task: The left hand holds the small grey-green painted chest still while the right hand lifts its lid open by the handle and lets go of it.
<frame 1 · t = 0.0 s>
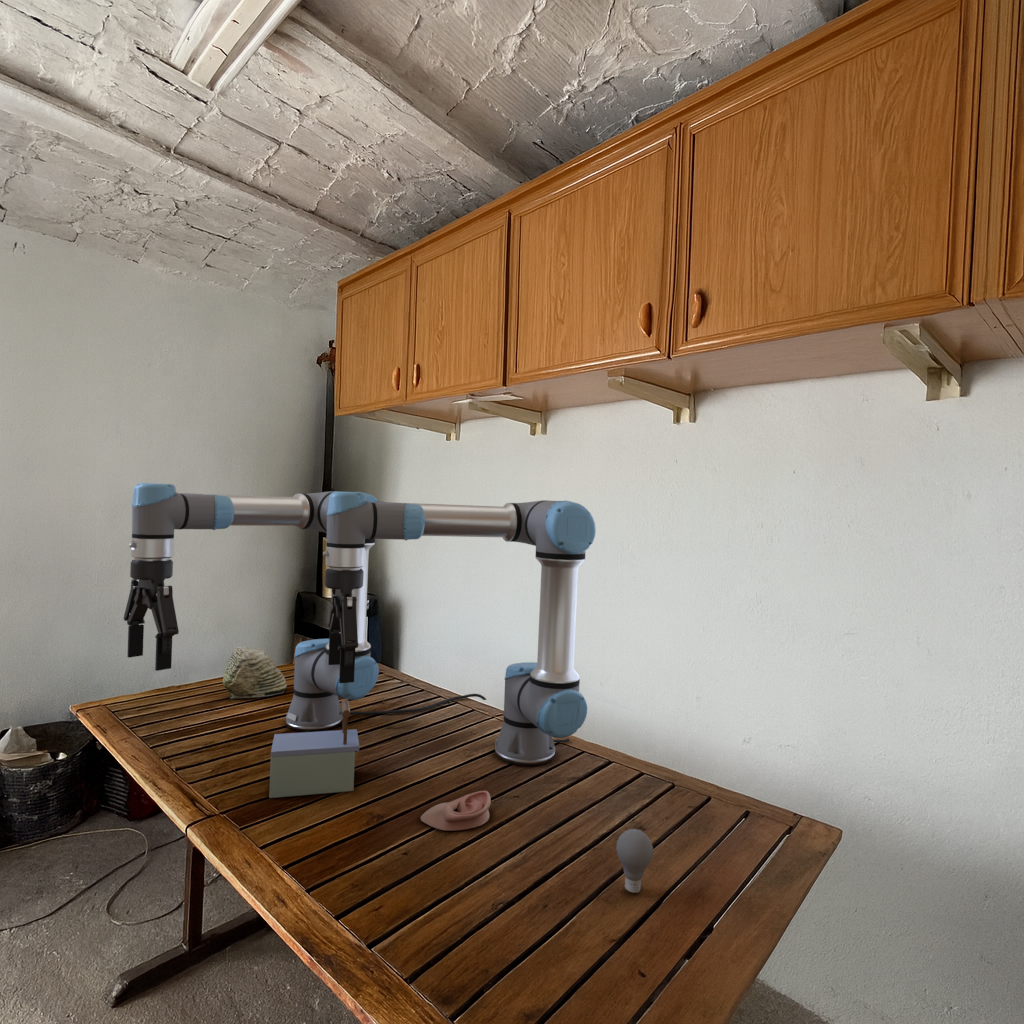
left hand: (148, 662, 129), 28 cm above the table, tool pointing down, fingers open, 13 cm apart
right hand: (340, 673, 128), 28 cm above the table, tool pointing down, fingers open, 13 cm apart
lid: (316, 725, 139), point 13 cm above the table, hinge at 0.0°
fossil: (254, 694, 198), on the table
chest: (312, 784, 139), on the table
anatomical model: (455, 818, 127), on the table
light bulb: (632, 891, 106), on the table
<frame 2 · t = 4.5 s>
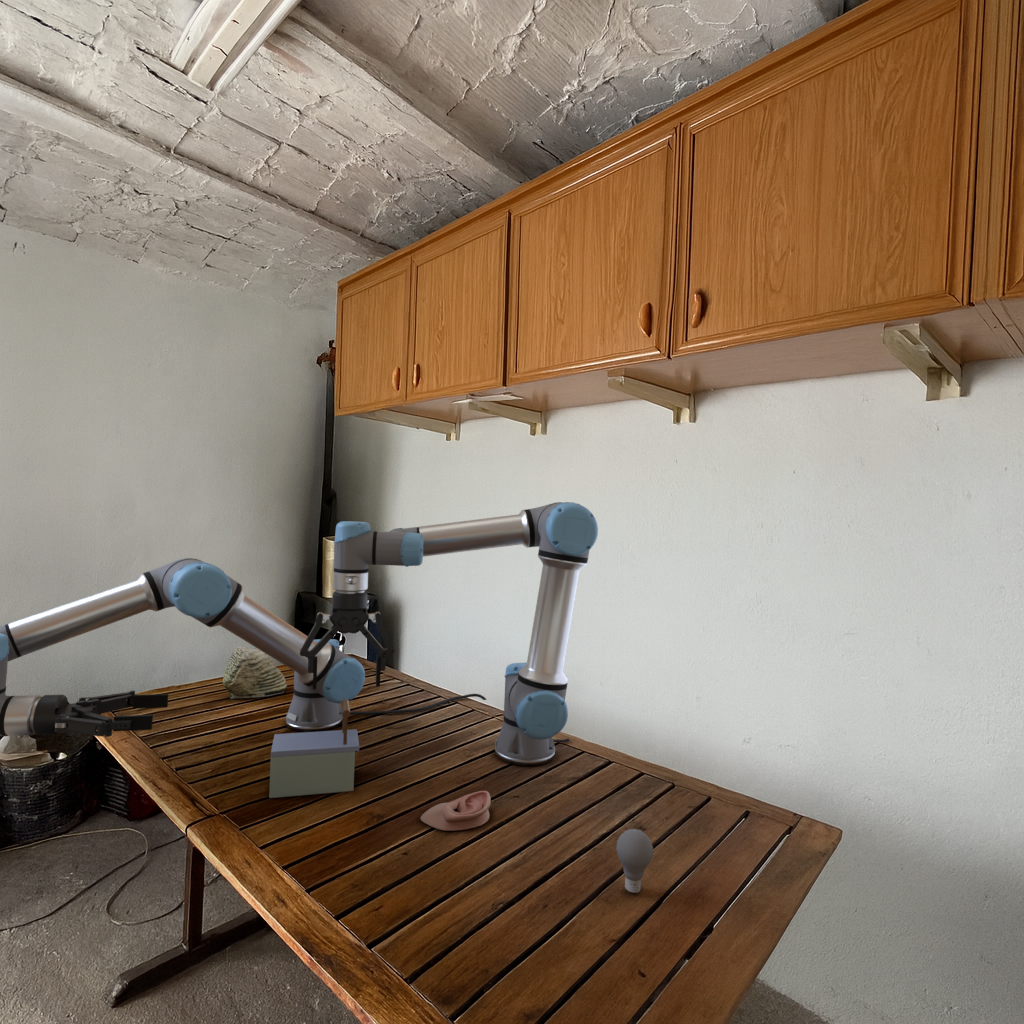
left hand: (160, 710, 130), 18 cm above the table, tool horizontal, fingers open, 13 cm apart
right hand: (346, 686, 141), 21 cm above the table, tool pointing down, fingers open, 13 cm apart
nothing on the table moved.
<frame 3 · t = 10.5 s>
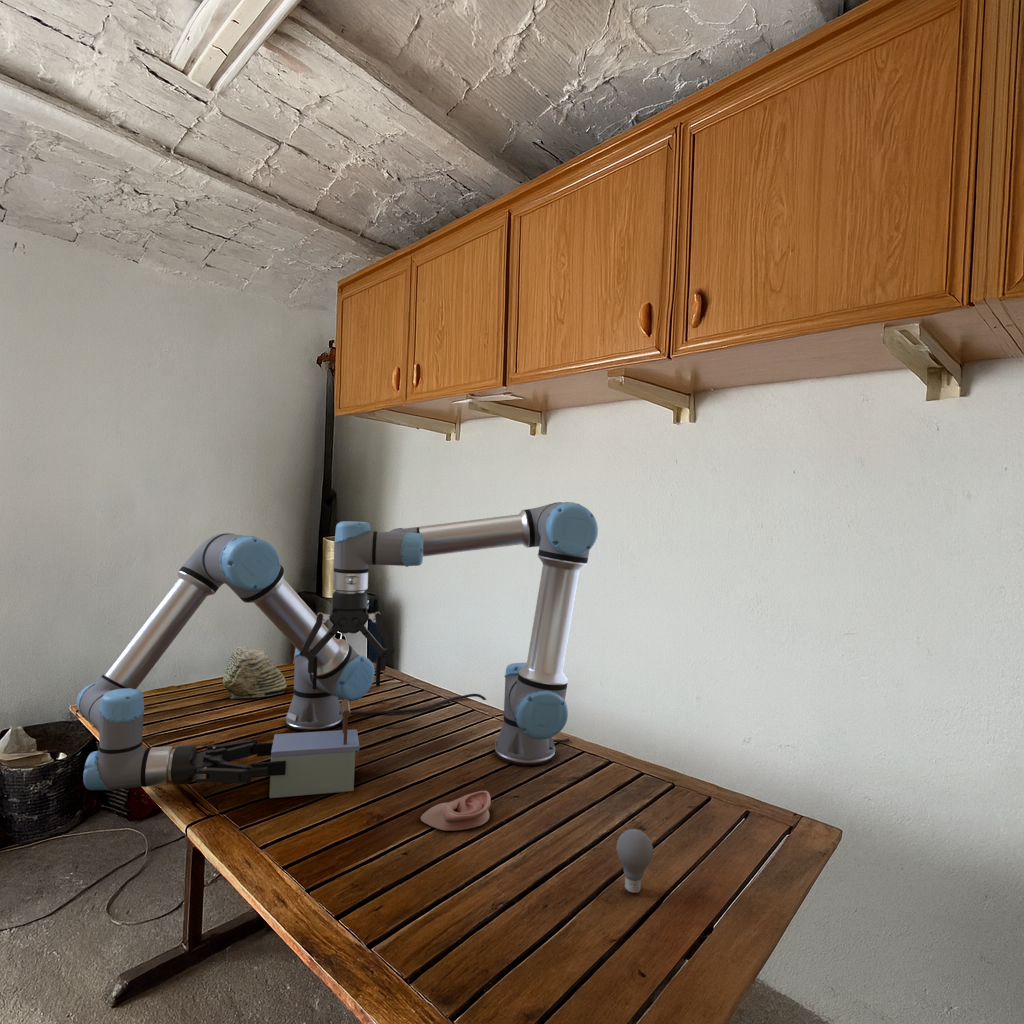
left hand: (286, 757, 138), 6 cm above the table, tool horizontal, fingers closed on chest, 10 cm apart
right hand: (346, 686, 141), 21 cm above the table, tool pointing down, fingers open, 13 cm apart
chest: (312, 784, 139), on the table, touching left hand
everything else where it was.
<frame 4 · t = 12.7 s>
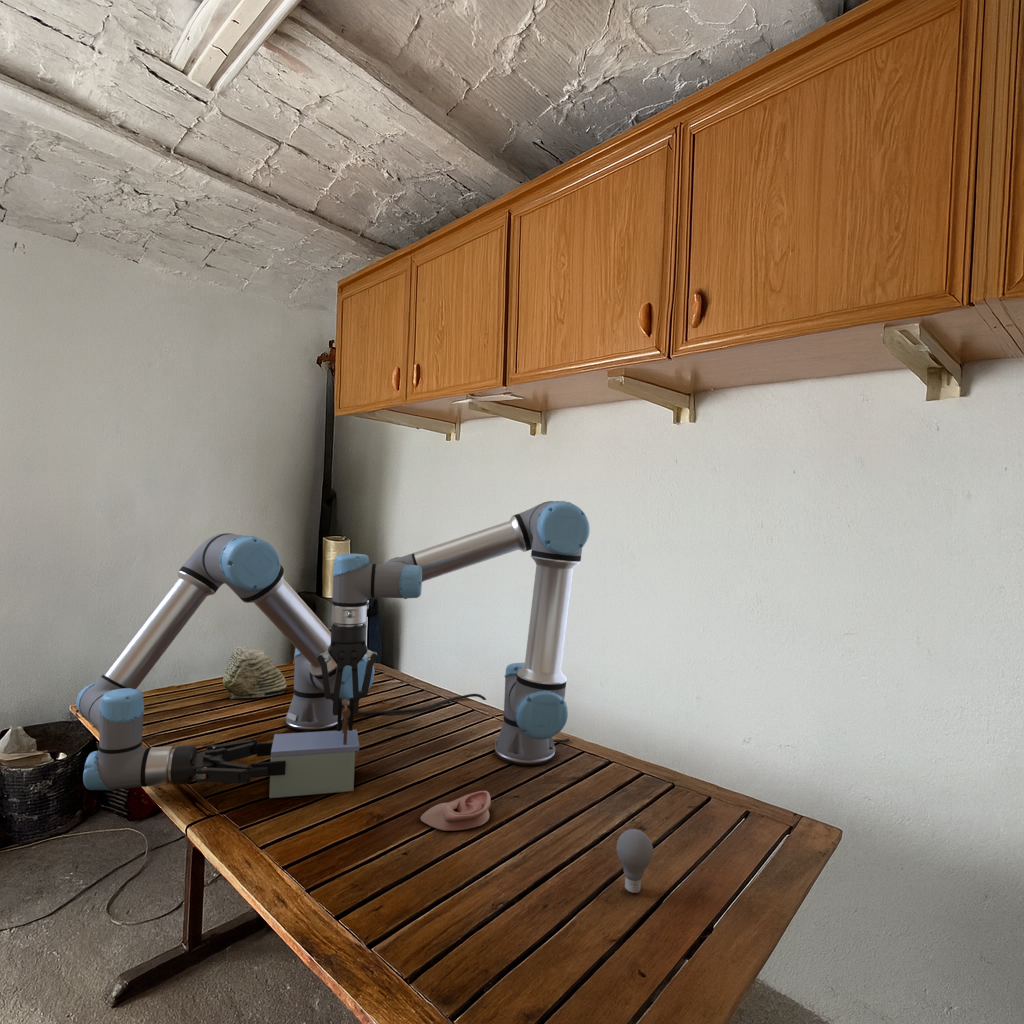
left hand: (286, 757, 138), 6 cm above the table, tool horizontal, fingers closed on chest, 10 cm apart
right hand: (344, 728, 141), 12 cm above the table, tool pointing down, fingers closed on lid, 2 cm apart
lid: (316, 725, 139), point 13 cm above the table, hinge at -0.1°, touching right hand
chest: (312, 784, 139), on the table, touching left hand
everything else where it was.
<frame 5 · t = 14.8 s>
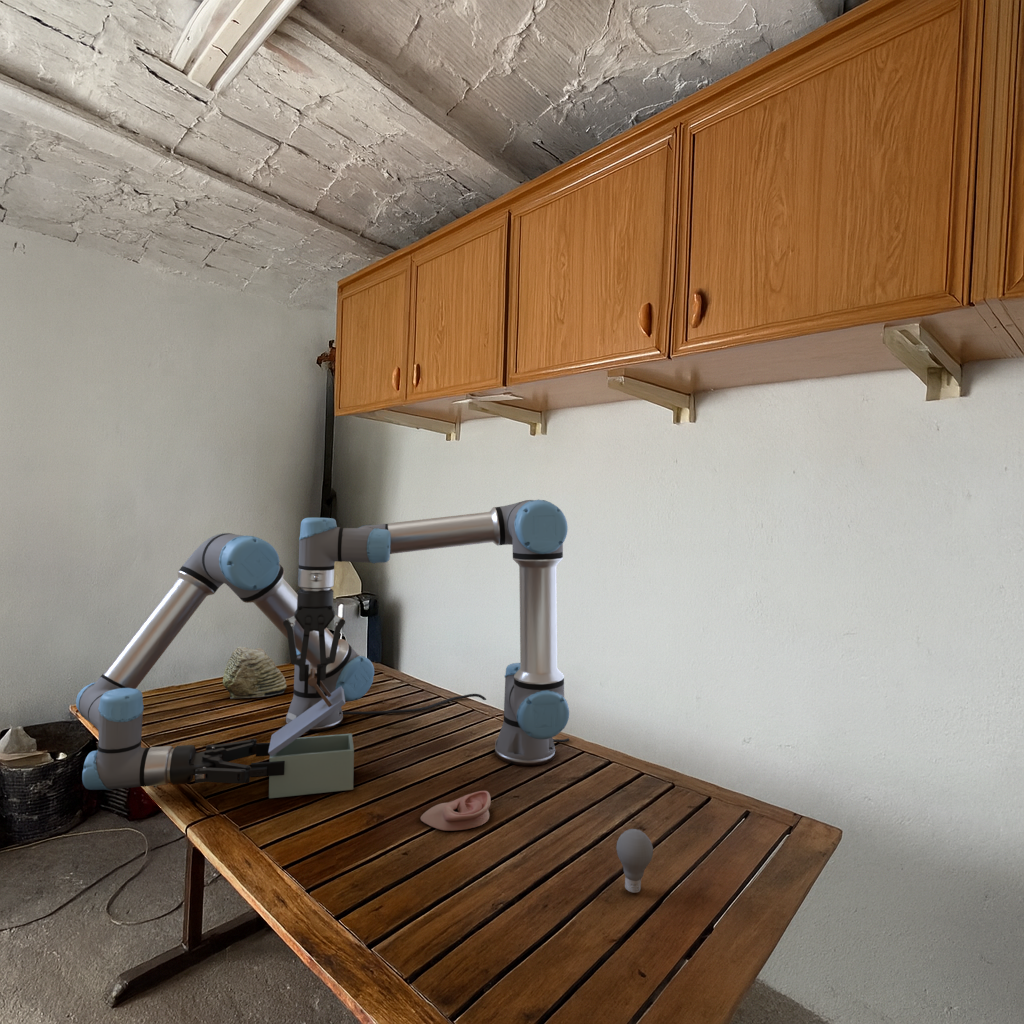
left hand: (285, 757, 138), 6 cm above the table, tool horizontal, fingers closed on chest, 10 cm apart
right hand: (311, 695, 139), 20 cm above the table, tool pointing down, fingers closed on lid, 2 cm apart
lid: (297, 706, 138), point 17 cm above the table, hinge at 34.4°, touching right hand
chest: (312, 783, 139), on the table, touching left hand
everything else where it was.
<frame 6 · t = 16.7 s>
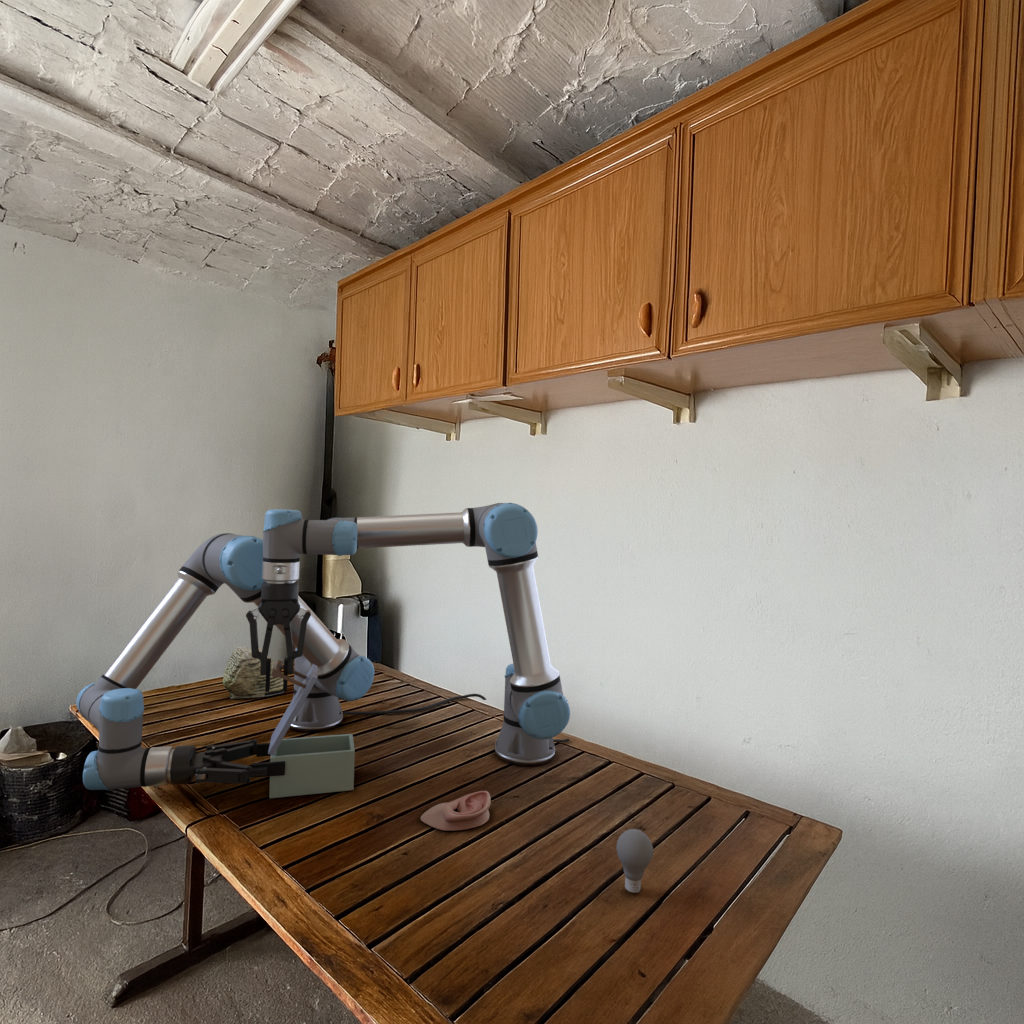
left hand: (286, 757, 138), 6 cm above the table, tool horizontal, fingers closed on chest, 10 cm apart
right hand: (276, 689, 137), 21 cm above the table, tool pointing down, fingers open, 3 cm apart
lid: (277, 700, 137), point 19 cm above the table, hinge at 61.7°
chest: (312, 783, 139), on the table, touching left hand
everything else where it was.
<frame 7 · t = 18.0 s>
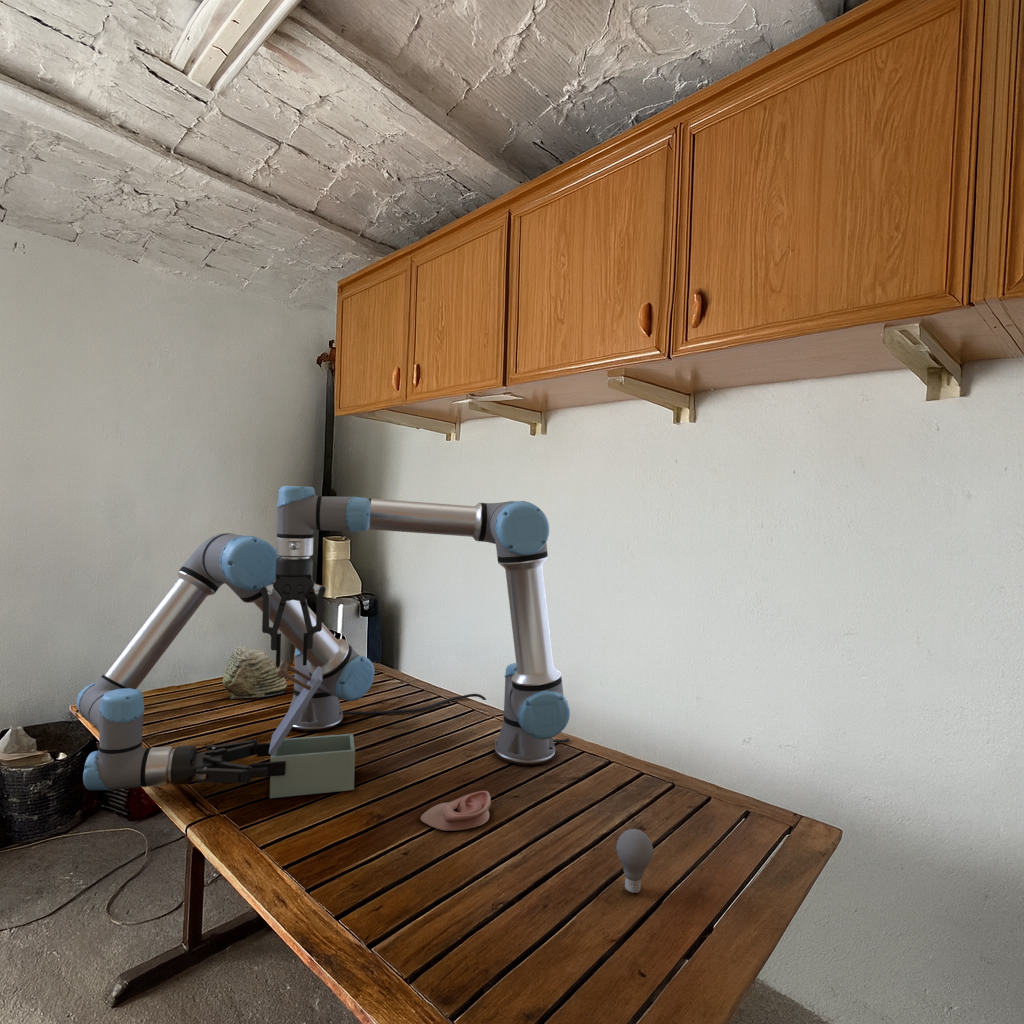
left hand: (286, 757, 138), 6 cm above the table, tool horizontal, fingers closed on chest, 10 cm apart
right hand: (291, 664, 137), 27 cm above the table, tool pointing down, fingers open, 5 cm apart
lid: (281, 700, 137), point 19 cm above the table, hinge at 57.9°
chest: (312, 783, 139), on the table, touching left hand
everything else where it was.
when the left hand's fingers open (6 cm above the table, at t = 20.9 s): chest stays where it is, on the table.
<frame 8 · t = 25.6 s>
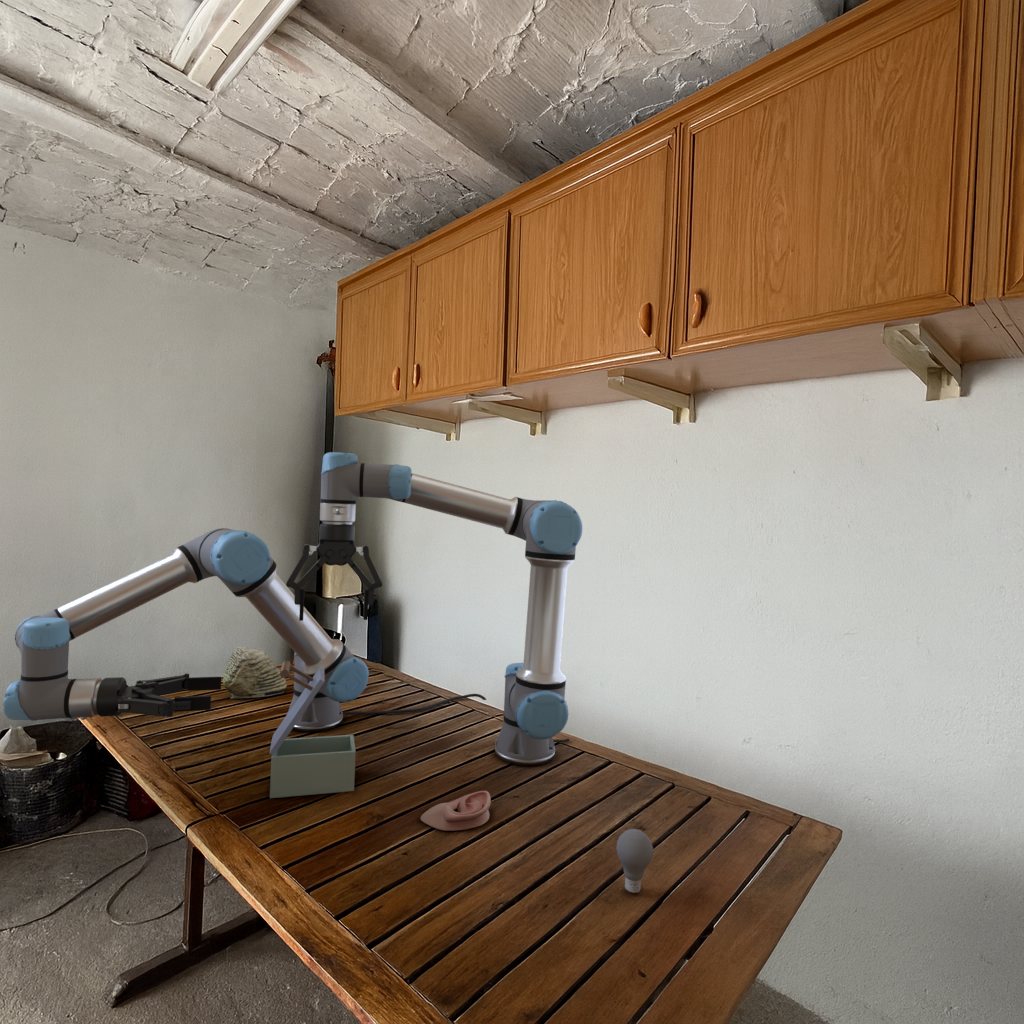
left hand: (216, 692, 133), 21 cm above the table, tool horizontal, fingers open, 13 cm apart
right hand: (333, 619, 140), 36 cm above the table, tool pointing down, fingers open, 13 cm apart
chest: (313, 784, 139), on the table
everything else where it was.
at the end: lid at +58° (first picture: +0°); the left hand is holding nothing; the right hand is holding nothing; chest tilted 0°; chest never tilted more than 2° during the clip; chest moved 0.1 cm from its start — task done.
